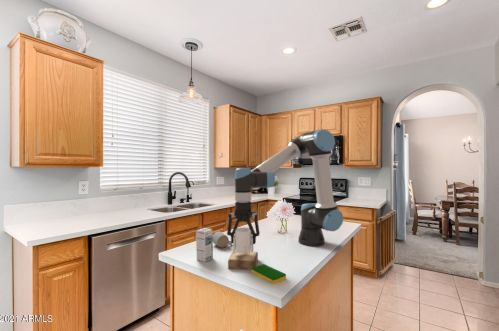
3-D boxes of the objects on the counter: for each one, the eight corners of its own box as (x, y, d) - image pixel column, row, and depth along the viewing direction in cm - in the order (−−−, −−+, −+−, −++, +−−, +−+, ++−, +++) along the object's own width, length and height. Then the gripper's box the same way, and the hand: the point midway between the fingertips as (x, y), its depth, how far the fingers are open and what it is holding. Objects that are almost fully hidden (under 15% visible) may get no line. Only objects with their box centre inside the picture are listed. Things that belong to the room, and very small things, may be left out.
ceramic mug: (217, 249, 135) (217, 235, 135) (211, 245, 142) (211, 232, 142) (234, 246, 141) (234, 232, 141) (228, 242, 148) (228, 229, 148)
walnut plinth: (257, 259, 120) (257, 251, 120) (255, 269, 108) (255, 260, 108) (233, 258, 121) (233, 250, 121) (228, 268, 109) (228, 259, 109)
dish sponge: (263, 269, 110) (263, 263, 110) (286, 280, 99) (286, 273, 99) (251, 273, 105) (251, 267, 105) (273, 285, 94) (273, 279, 94)
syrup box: (205, 262, 117) (205, 231, 117) (196, 259, 120) (195, 229, 120) (213, 258, 122) (212, 228, 122) (204, 256, 125) (203, 227, 125)
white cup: (234, 248, 118) (234, 227, 118) (251, 248, 119) (251, 227, 119) (235, 254, 110) (235, 231, 110) (252, 253, 111) (252, 231, 111)
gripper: (265, 200, 117) (266, 248, 117) (223, 199, 120) (223, 247, 119) (264, 202, 110) (264, 254, 109) (219, 202, 112) (219, 252, 112)
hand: (243, 250), depth 114 cm, fingers closed on white cup, 8 cm apart
